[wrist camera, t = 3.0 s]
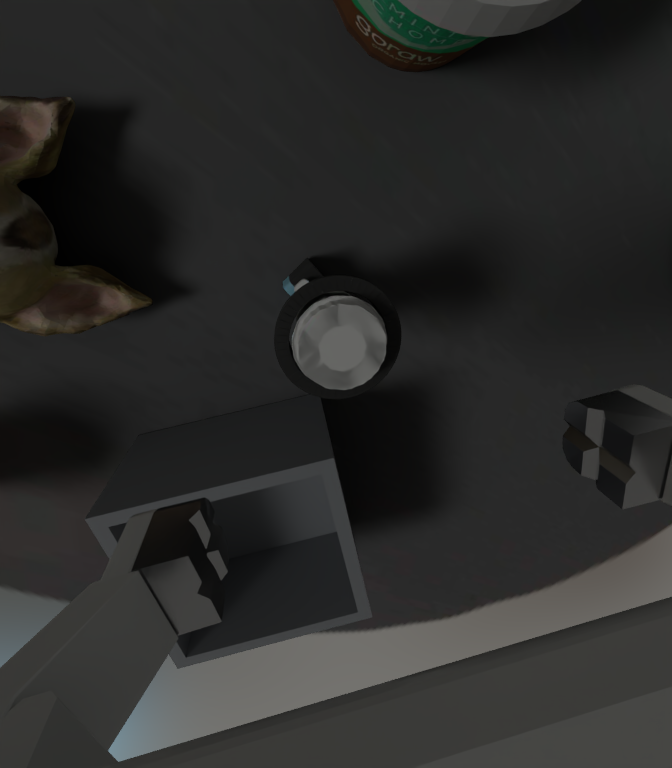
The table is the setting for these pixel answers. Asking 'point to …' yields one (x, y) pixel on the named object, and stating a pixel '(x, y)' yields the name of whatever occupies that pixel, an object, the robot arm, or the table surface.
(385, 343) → the push button
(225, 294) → the table surface
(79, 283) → the ceramic sculpture
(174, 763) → the robot arm
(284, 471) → the bin
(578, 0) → the food container
